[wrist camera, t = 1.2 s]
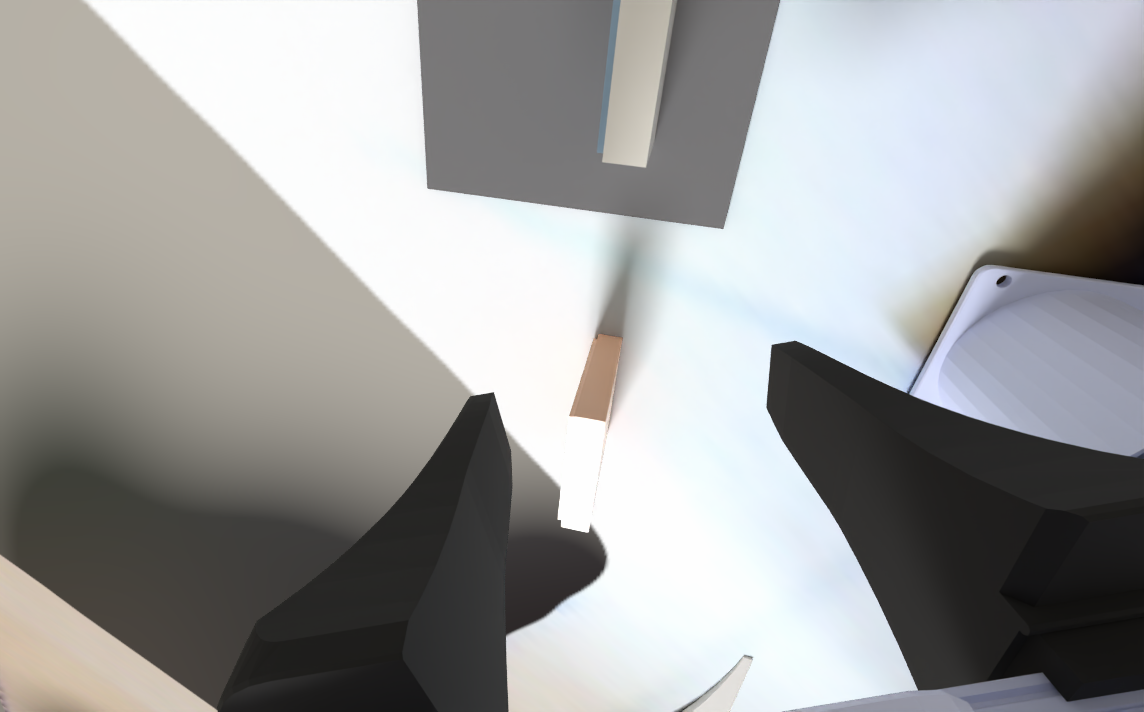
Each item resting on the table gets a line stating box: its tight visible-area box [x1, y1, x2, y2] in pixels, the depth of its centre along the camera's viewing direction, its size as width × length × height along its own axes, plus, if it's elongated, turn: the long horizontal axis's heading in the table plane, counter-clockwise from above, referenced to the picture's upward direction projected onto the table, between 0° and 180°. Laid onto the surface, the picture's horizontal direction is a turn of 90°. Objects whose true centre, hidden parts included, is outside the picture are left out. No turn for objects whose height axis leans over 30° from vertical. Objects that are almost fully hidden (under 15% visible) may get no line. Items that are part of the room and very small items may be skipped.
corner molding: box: [682, 656, 753, 712], centre depth 44 cm, size 30×2×30 cm
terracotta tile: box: [558, 334, 623, 532], centre depth 23 cm, size 1×6×7 cm, turn 175°
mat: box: [417, 0, 780, 229], centre depth 18 cm, size 13×12×1 cm
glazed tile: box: [597, 0, 677, 168], centre depth 15 cm, size 1×6×7 cm, turn 174°
